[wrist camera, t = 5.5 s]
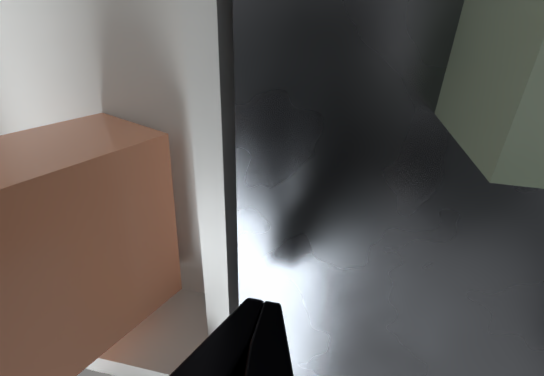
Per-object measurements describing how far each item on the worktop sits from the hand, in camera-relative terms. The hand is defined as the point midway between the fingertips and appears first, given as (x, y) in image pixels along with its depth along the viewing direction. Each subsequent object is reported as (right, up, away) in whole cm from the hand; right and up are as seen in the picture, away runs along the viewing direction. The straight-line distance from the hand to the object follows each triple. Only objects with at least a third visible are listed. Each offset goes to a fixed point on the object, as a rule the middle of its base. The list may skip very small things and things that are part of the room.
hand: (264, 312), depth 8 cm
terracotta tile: (-5, +1, 0) cm, 5 cm away
